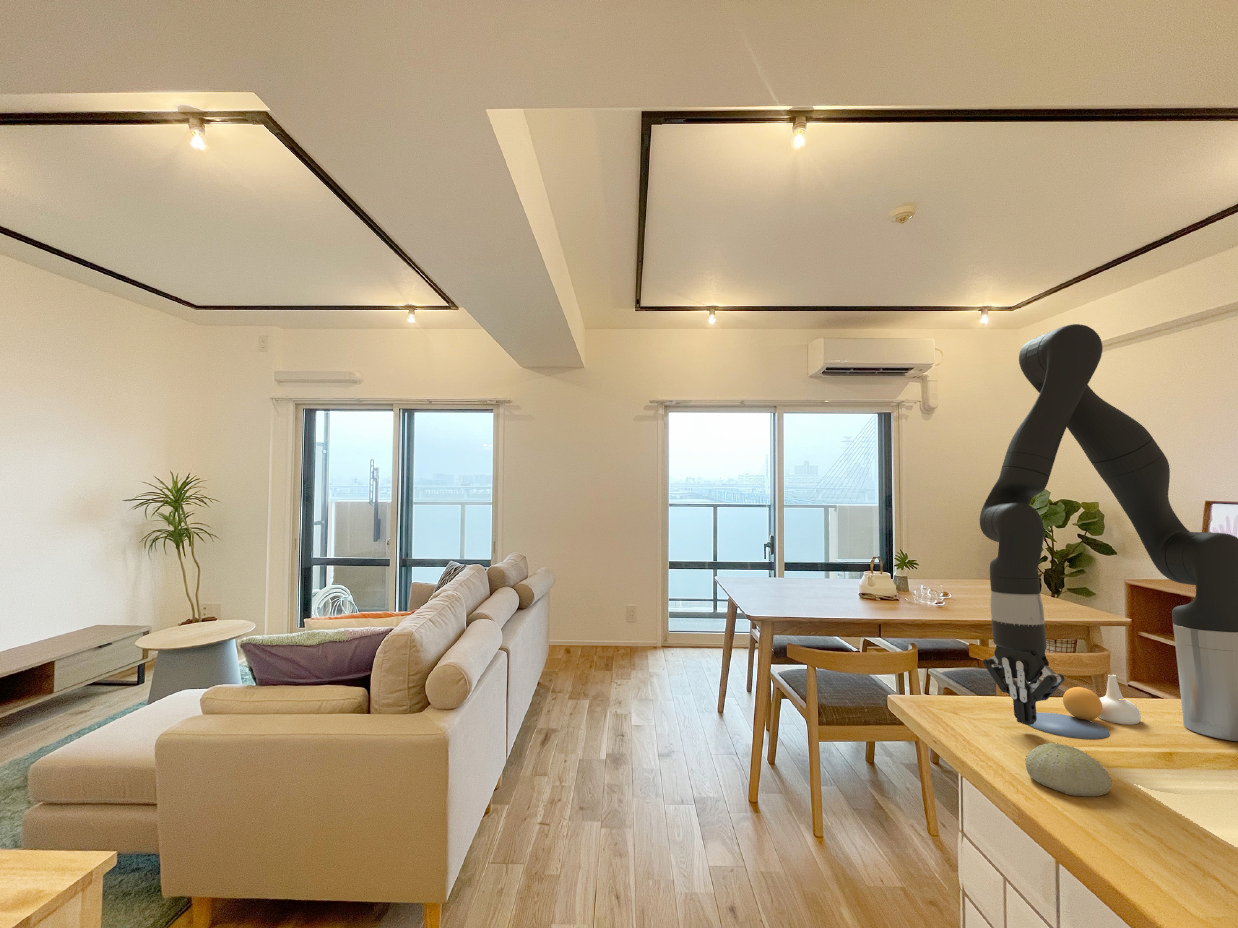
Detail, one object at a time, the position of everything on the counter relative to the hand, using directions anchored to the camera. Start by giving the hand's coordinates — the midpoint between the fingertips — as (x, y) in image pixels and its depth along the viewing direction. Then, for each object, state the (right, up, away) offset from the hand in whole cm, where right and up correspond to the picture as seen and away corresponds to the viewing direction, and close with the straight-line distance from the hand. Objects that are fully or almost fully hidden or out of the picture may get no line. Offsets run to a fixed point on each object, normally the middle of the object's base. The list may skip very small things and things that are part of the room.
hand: (1025, 722), depth 95 cm
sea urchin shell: (-8, 0, -19) cm, 20 cm away
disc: (+9, -2, +3) cm, 9 cm away
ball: (+14, +1, +6) cm, 15 cm away
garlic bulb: (+20, -2, +5) cm, 21 cm away
